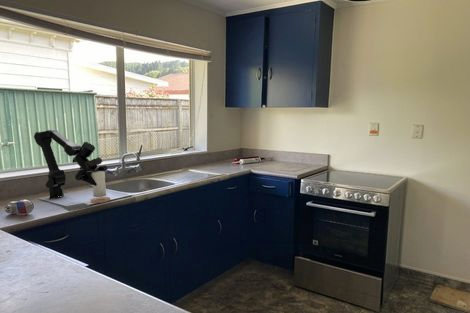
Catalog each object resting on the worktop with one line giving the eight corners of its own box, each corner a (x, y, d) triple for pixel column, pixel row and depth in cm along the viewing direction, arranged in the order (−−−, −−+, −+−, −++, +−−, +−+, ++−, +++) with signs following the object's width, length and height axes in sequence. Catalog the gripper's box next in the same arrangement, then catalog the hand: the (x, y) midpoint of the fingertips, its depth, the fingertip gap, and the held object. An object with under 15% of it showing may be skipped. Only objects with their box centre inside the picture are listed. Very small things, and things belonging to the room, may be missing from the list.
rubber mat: (61, 207, 173) (61, 207, 173) (83, 203, 181) (83, 202, 181) (69, 212, 165) (69, 211, 165) (91, 207, 173) (91, 206, 173)
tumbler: (95, 197, 180) (93, 173, 179) (91, 195, 185) (90, 171, 184) (107, 195, 184) (106, 172, 182) (104, 193, 189) (102, 170, 188)
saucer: (89, 204, 179) (88, 202, 179) (92, 199, 189) (92, 197, 189) (109, 202, 181) (108, 200, 181) (111, 198, 191) (111, 196, 191)
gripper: (77, 155, 175) (95, 177, 172) (104, 151, 192) (120, 171, 189) (67, 169, 179) (84, 191, 176) (94, 164, 196) (110, 184, 193)
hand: (100, 184), depth 183 cm, fingers closed on tumbler, 6 cm apart
